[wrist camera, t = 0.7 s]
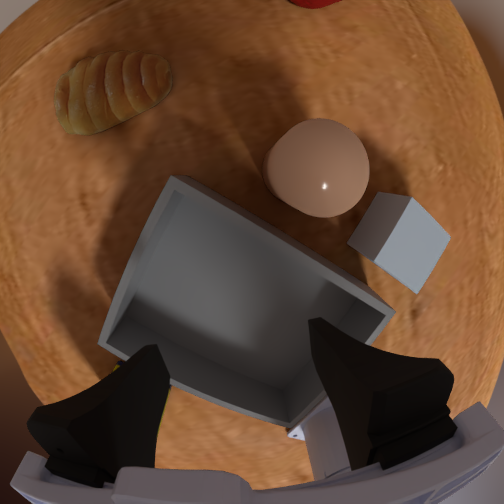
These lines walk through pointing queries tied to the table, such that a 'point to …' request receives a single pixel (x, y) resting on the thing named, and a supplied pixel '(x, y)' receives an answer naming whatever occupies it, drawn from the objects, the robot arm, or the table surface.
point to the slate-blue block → (400, 238)
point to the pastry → (110, 90)
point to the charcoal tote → (233, 304)
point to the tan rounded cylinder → (317, 168)
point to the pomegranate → (313, 3)
